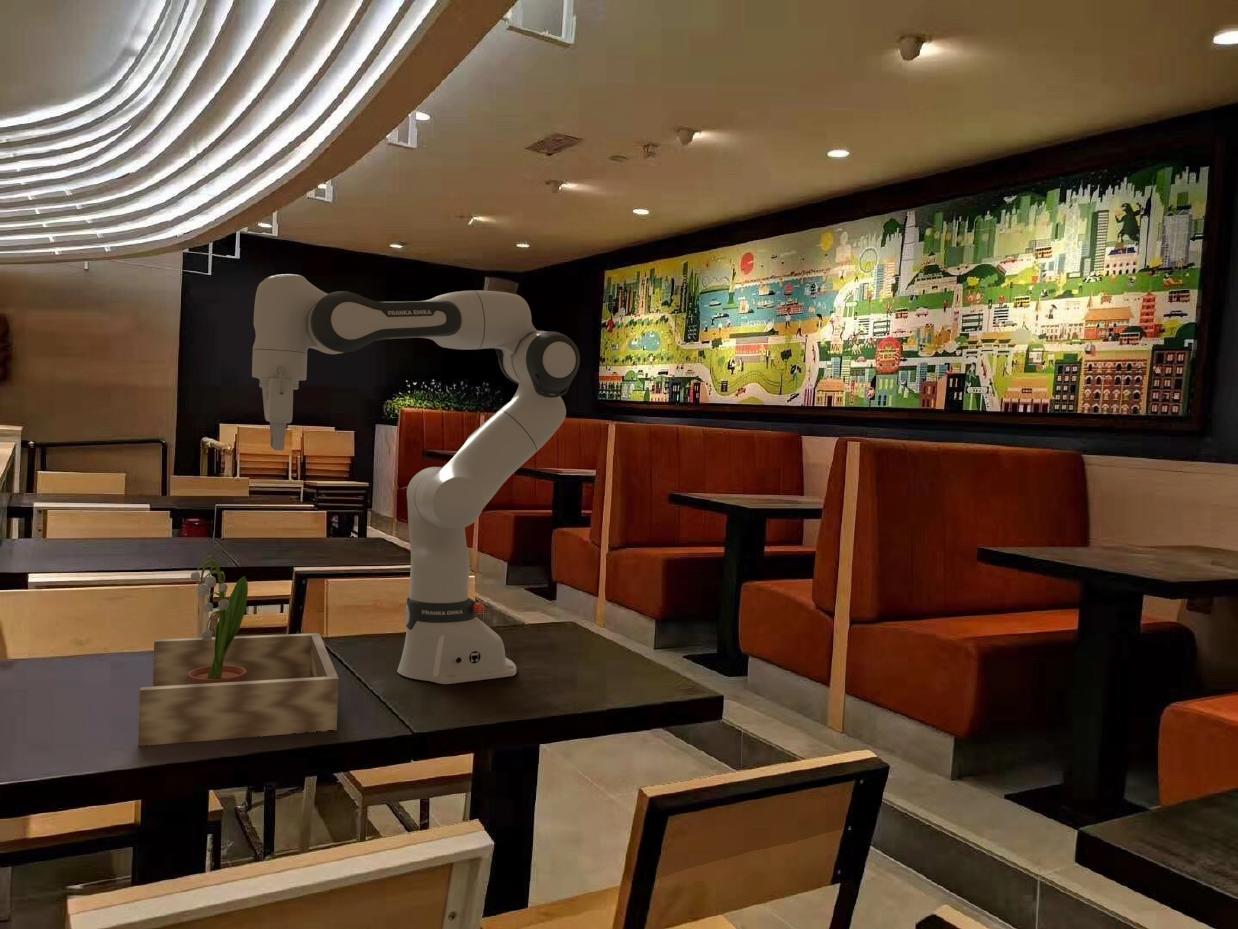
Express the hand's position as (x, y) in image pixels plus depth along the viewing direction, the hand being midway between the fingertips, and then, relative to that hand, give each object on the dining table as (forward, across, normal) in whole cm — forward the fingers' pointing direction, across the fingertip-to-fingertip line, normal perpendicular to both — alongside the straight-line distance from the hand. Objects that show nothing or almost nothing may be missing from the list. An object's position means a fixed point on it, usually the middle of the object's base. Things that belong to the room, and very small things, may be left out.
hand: (277, 449), depth 158 cm
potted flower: (+42, -10, +9) cm, 44 cm away
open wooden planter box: (+42, -10, +5) cm, 43 cm away
